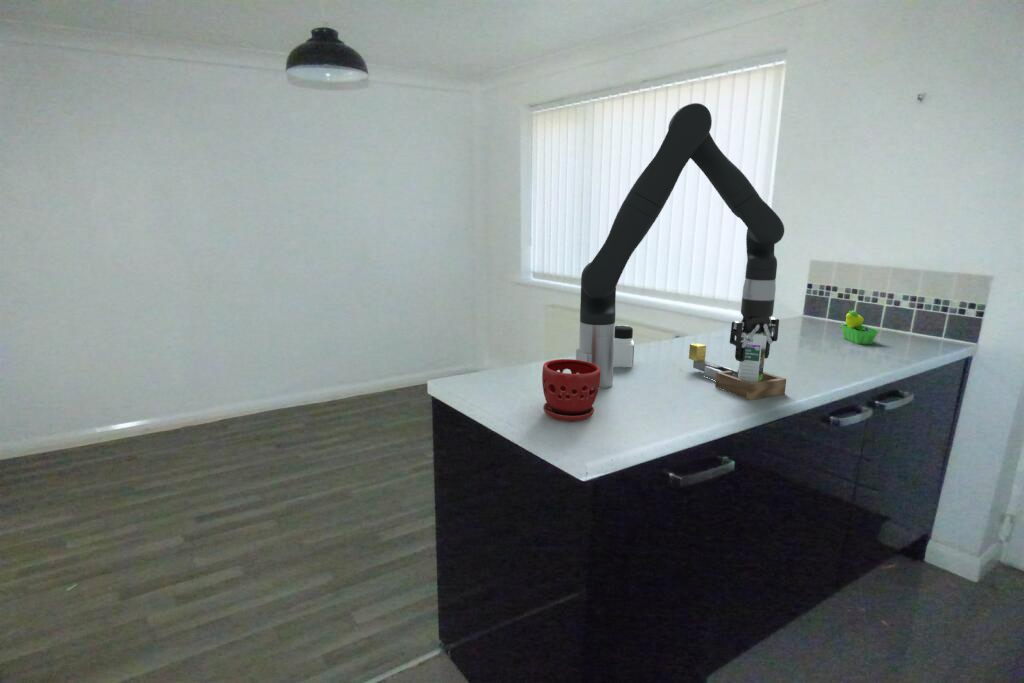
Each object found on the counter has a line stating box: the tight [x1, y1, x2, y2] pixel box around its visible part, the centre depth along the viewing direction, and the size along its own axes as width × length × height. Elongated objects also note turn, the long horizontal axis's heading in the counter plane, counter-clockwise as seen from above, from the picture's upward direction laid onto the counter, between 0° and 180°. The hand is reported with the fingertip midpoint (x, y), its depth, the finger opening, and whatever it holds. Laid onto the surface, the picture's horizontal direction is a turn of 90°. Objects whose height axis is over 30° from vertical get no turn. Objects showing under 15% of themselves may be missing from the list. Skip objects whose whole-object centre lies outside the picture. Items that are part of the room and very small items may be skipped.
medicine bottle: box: [613, 324, 635, 369], centre depth 169 cm, size 7×7×12 cm
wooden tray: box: [715, 368, 787, 401], centre depth 145 cm, size 12×12×4 cm
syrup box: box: [738, 332, 767, 383], centre depth 143 cm, size 6×6×14 cm
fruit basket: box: [840, 310, 879, 345], centre depth 199 cm, size 11×9×11 cm
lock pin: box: [688, 342, 724, 372], centre depth 159 cm, size 3×11×7 cm, turn 24°
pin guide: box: [703, 364, 738, 382], centre depth 154 cm, size 5×8×3 cm, turn 24°
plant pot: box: [541, 358, 601, 423], centre depth 126 cm, size 13×13×12 cm
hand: (751, 359), depth 143 cm, fingers closed on syrup box, 8 cm apart
